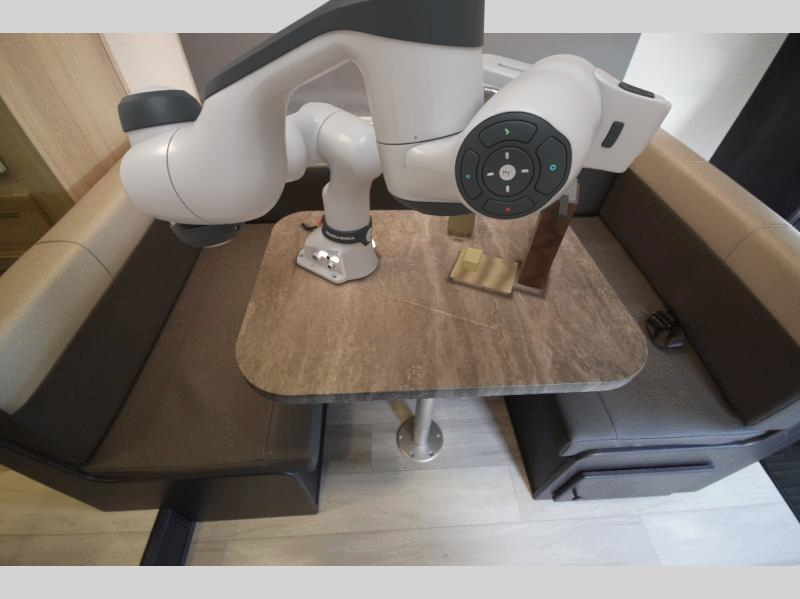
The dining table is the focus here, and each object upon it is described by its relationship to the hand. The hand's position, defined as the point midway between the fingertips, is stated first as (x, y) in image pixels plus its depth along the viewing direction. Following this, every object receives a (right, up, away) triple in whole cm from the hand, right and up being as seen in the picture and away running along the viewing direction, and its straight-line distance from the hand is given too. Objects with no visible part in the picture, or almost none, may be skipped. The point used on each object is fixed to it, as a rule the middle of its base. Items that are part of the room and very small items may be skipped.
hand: (570, 84), depth 42 cm
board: (+2, -19, +54) cm, 57 cm away
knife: (+13, -5, +31) cm, 34 cm away
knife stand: (+15, -20, +53) cm, 58 cm away
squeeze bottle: (-2, -6, +66) cm, 67 cm away
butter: (-1, -16, +54) cm, 57 cm away
